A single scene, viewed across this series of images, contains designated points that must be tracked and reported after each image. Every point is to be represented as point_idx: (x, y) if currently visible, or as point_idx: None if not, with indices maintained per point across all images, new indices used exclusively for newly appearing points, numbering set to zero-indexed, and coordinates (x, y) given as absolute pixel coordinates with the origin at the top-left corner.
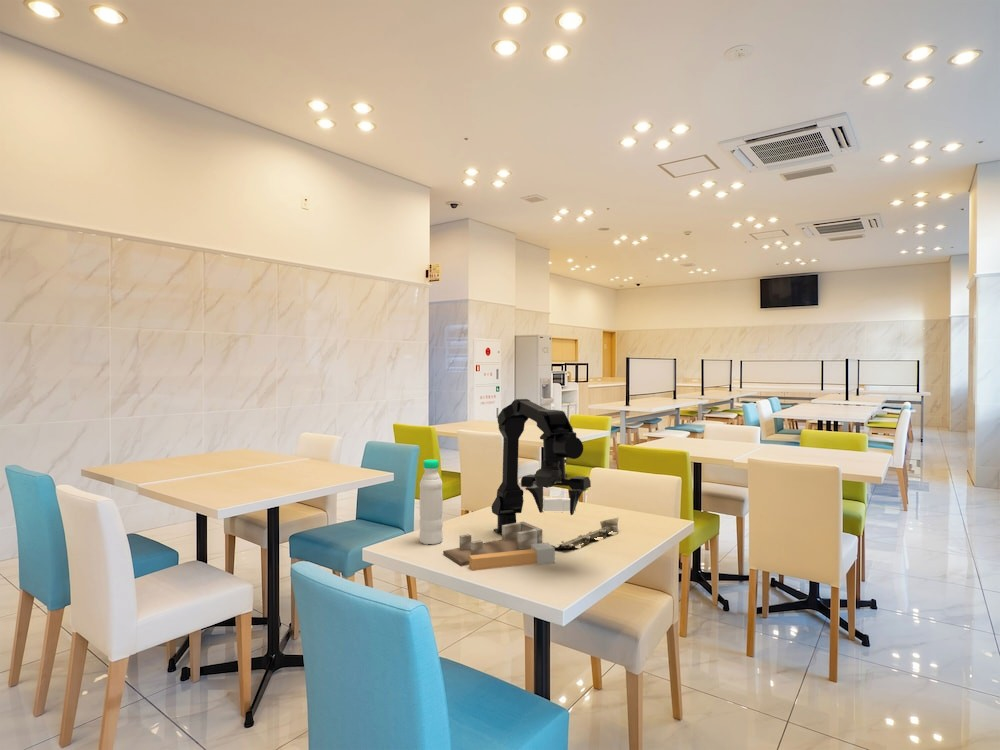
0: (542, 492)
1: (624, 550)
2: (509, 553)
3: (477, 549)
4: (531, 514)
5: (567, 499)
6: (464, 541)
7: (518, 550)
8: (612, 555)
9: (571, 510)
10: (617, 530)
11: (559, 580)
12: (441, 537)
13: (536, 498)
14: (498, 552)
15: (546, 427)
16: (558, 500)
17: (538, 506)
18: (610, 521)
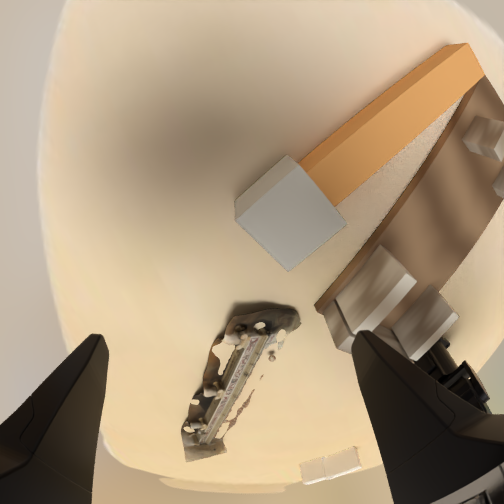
0: (392, 475)
1: (111, 365)
2: (398, 123)
3: (485, 129)
4: None
5: (317, 479)
6: None
7: (378, 168)
8: (111, 330)
9: (77, 355)
10: (182, 436)
11: (154, 50)
12: None
13: (438, 400)
14: (433, 185)
15: None
16: (333, 473)
17: (394, 356)
18: (202, 453)
